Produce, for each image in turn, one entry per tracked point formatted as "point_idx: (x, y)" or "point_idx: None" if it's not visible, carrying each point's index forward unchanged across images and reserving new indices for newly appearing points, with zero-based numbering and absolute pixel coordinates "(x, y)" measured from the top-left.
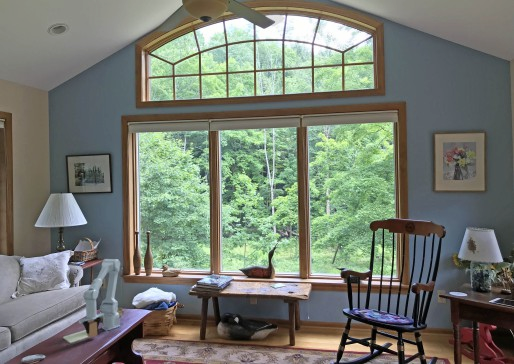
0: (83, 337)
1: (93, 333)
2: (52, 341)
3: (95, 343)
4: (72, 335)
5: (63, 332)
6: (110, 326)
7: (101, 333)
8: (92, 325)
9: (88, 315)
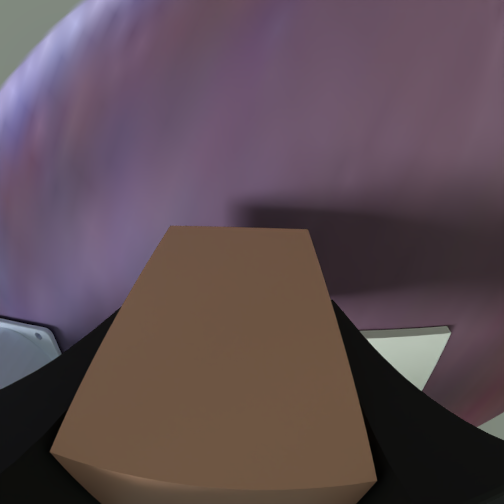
0: None
1: (237, 252)
2: None
3: (282, 63)
4: None
5: None
6: (5, 344)
7: (98, 317)
8: (249, 411)
9: None
